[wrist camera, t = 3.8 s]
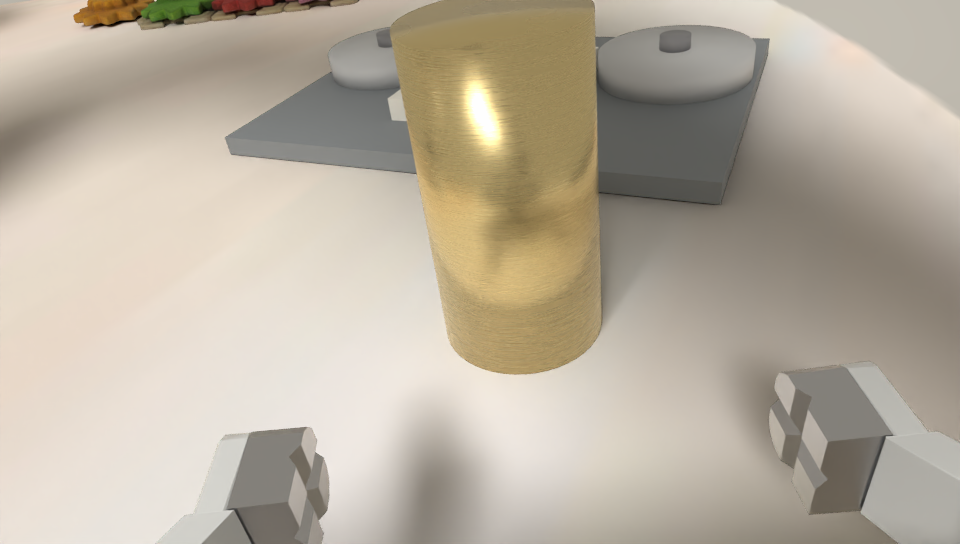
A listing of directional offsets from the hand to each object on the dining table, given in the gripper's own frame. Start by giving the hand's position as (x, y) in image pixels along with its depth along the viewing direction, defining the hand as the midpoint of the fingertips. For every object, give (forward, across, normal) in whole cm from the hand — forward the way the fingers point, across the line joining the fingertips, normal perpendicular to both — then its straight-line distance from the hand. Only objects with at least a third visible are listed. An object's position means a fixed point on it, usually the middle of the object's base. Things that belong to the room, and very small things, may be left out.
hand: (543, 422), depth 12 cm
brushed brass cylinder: (+10, 0, +6) cm, 11 cm away
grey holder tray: (+29, -1, +6) cm, 30 cm away
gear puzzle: (+68, +26, +6) cm, 73 cm away
